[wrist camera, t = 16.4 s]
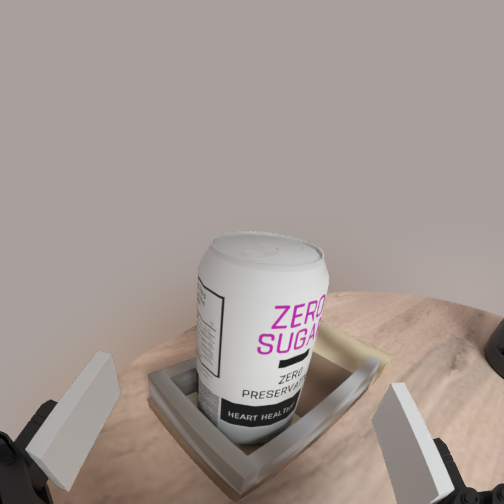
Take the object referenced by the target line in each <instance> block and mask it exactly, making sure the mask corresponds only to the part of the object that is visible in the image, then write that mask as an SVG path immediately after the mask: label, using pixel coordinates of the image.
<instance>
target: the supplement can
mask: <svg viewBox="0 0 504 504" xmlns="http://www.w3.org/2000/svg"><path fill="white" fill-rule="evenodd" d="M328 285H329V274H328V271H327V268H326V265H325V262H324V252H323V251H322V250H321V249H320V248H319V247H317V246H315V245H313V244H311V243H310V242H307V241H304V240H301V239H298V238H294V237H290V236H286V235H281V234H275V233H267V232H254V231H239V232H229V233H223V234H219V235H217V236H215V237H213V238H212V240H211V243H210V246H209V248H208V250H207V251H206V253H205V254H204V256H203V258H202V260H201V262H200V265H199V268H198V295H197V296H198V297H197V409H198V410H199V411H200V412H201V413H202V414H203V415H204V416H205V417H206V418H207V419H208V420H209V421H210V422H211V423H212V424H213V425H214V426H215V427H216V428H217V429H218V430H219V431H220V432H221V433H222V434H224V435H225V436H226V437H227V438H228V439H229V440H230V441H231V442H235V443H241V444H247V445H249V444H257V443H265V442H268V441H270V440H272V439H274V438H275V437H277V436H278V435H279V434H281V433H282V432H284V431H285V430H286V429H287V428H288V427H289V426H290V425H291V422H292V419H293V416H294V413H295V410H296V407H297V404H298V401H299V397H300V394H301V391H302V387H303V384H304V381H305V377H306V374H307V370H308V367H309V363H310V359H311V356H312V352H313V348H314V344H315V341H316V337H317V333H318V329H319V325H320V321H321V316H322V312H323V308H324V304H325V299H326V295H327V290H328Z"/></svg>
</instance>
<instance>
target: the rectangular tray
mask: <svg viewBox="0 0 504 504" xmlns="http://www.w3.org/2000/svg"><path fill="white" fill-rule="evenodd" d="M392 358H393V356H392V355H390V354H388V353H386V352H384V351H382V350H380V349H378V348H376V347H374V346H371V345H369V344H367V343H365V342H363V341H361V340H359V339H357V338H355V337H353V336H351V335H349V334H347V333H345V332H343V331H341V330H339V329H337V328H335V327H333V326H331V325H329V324H327V323H325V322H323V321H320V325H319V329H318V333H317V337H316V341H315V344H314V348H313V352H312V356H311V359H310V363H309V367H308V370H307V374H306V377H305V381H304V384H303V387H302V391H301V394H300V397H299V401H298V404H297V407H296V410H295V413H294V416H293V419H292V422H291V425H290V426H289V427H288V428H287V429H286V430H285V431H284V432H282V433H281V434H279V435H278V436H277V437H275V438H274V439H272V440H270V441H268V442H265V443H257V444H249V445H247V444H241V443H235V442H231V441H230V440H229V439H228V438H227V437H226V436H225V435H224V434H222V433H221V432H220V431H219V430H218V429H217V428H216V427H215V426H214V425H213V424H212V423H211V422H210V421H209V420H208V419H207V418H206V417H205V416H204V415H203V414H202V413H201V412H200V411H199V410H198V409H197V357H195V358H192V359H190V360H187V361H184V362H182V363H179V364H176V365H173V366H171V367H168V368H165V369H162V370H159V371H156V372H153V373H150V374H148V377H149V384H150V390H151V396H152V398H150V399H148V402H149V407H150V408H151V409H152V411H153V412H154V413H155V415H156V416H157V417H158V419H159V420H160V421H161V422H162V424H163V425H164V426H165V428H166V429H167V430H168V431H169V433H170V434H171V435H172V436H173V438H174V439H175V440H176V441H177V442H178V444H179V445H180V446H181V447H182V448H183V449H184V451H185V452H186V453H187V454H188V455H189V456H190V457H191V458H192V460H193V461H194V462H195V463H196V464H197V465H198V466H199V467H200V468H201V469H202V470H203V471H204V472H205V474H206V475H207V476H208V477H209V478H210V479H211V480H212V481H213V482H214V483H215V484H216V485H217V486H218V487H219V488H220V489H221V490H222V491H223V492H225V493H226V494H227V495H228V496H229V497H230V498H231V499H232V500H233V501H234V502H236V501H237V500H239V499H241V498H242V497H244V496H245V495H247V494H248V493H250V492H251V491H253V490H254V489H256V488H257V487H258V486H260V485H261V484H263V483H264V482H265V481H267V480H268V479H270V478H271V477H272V476H274V475H275V474H276V473H278V472H279V471H280V470H282V469H283V468H284V467H285V466H287V465H288V464H289V463H291V462H292V461H293V460H294V459H295V458H297V457H298V456H299V455H300V454H301V453H303V452H304V451H305V450H306V449H307V448H309V447H310V446H311V445H312V444H313V443H314V442H315V441H317V440H318V439H319V438H320V437H321V436H322V435H323V434H324V433H325V432H326V431H327V430H329V429H330V428H331V427H332V426H333V425H334V424H335V423H336V422H337V421H338V420H339V419H340V418H341V417H342V416H343V415H344V414H345V413H346V412H347V411H348V410H349V409H350V408H351V407H352V406H353V405H354V404H355V403H356V402H357V401H358V399H359V398H360V397H361V396H362V395H363V394H364V393H365V392H366V391H367V390H368V389H369V387H370V386H371V385H372V384H373V383H374V382H375V381H376V379H377V378H378V377H379V376H380V375H381V374H382V372H383V371H384V370H385V369H386V368H387V366H388V365H389V364H390V363H391V361H392Z"/></svg>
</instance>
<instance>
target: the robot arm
mask: <svg viewBox="0 0 504 504" xmlns="http://www.w3.org/2000/svg"><path fill="white" fill-rule="evenodd" d="M485 355H486V357H487V360H488V361H489V363H490V364H491V366H492V367H493V368H494V369H495V370H496V371H497V372H498V373H499V374H500V375H501V376H502V377H503V378H504V319H503V320H502V322H501V323H500V324H499V326H498V327H497V328H496V329H495V331H494V332H493V333H492V334H491V336H490V338H489V340H488V342H487V344H486V347H485ZM120 395H121V392H120V388H119V384H118V380H117V375H116V371H115V366H114V361H113V356H112V354H111V353H107V352H103V351H100V350H98V351H97V353H96V354H95V355H94V356H93V358H92V359H91V360H90V362H89V363H88V364H87V365H86V366H85V368H84V369H83V370H82V372H81V373H80V374H79V376H78V377H77V378H76V379H75V381H74V382H73V383H72V385H71V386H70V387H69V389H68V390H67V391H66V393H65V394H64V395H63V397H62V398H61V399H60V401H59V402H55V401H53V400H49V401H47V402H45V403H44V404H42V405H41V406H40V408H39V409H38V410H37V412H36V414H34V416H33V417H32V418H31V421H29V422H28V424H27V425H26V426H25V428H24V429H23V430H22V432H21V433H20V435H19V436H18V437H17V439H16V441H14V442H13V441H12V440H11V439H10V437H9V436H8V435H7V434H6V433H4V432H1V431H0V504H54V503H53V500H52V497H51V494H50V491H49V488H48V485H47V483H46V482H47V480H48V478H49V479H50V480H51V482H52V483H53V484H54V485H56V486H58V487H60V488H62V489H64V490H66V491H68V492H69V491H70V489H71V487H72V485H73V483H74V481H75V479H76V477H77V475H78V473H79V471H80V469H81V467H82V465H83V463H84V461H85V459H86V457H87V455H88V454H89V452H90V450H91V448H92V446H93V444H94V442H95V440H96V438H97V437H98V435H99V433H100V431H101V429H102V427H103V425H104V424H105V422H106V420H107V418H108V416H109V414H110V413H111V411H112V409H113V407H114V405H115V404H116V402H117V400H118V398H119V397H120ZM372 423H373V426H374V429H375V432H376V435H377V438H378V441H379V444H380V447H381V450H382V453H383V457H384V460H385V463H386V466H387V469H388V473H389V476H390V479H391V483H392V486H393V490H394V493H395V497H396V500H397V504H504V484H503V483H502V484H499V485H497V486H496V487H495V488H494V489H493V490H491V491H483V492H477V491H476V490H475V489H473V488H470V487H466V486H465V484H464V482H463V480H462V477H461V475H460V473H459V471H458V468H457V466H456V464H455V462H453V458H452V456H451V455H450V451H449V449H448V447H447V445H446V444H445V443H444V442H443V441H442V440H441V439H440V438H436V439H432V437H431V435H430V433H429V431H428V429H427V427H426V425H425V422H424V420H423V418H422V416H421V414H420V412H419V410H418V409H417V407H416V405H415V403H414V401H413V399H412V397H411V395H410V393H409V391H408V389H407V387H406V386H405V384H404V382H402V383H391V384H390V386H389V388H388V390H387V392H386V394H385V396H384V398H383V400H382V402H381V404H380V405H379V407H378V409H377V411H376V413H375V415H374V416H373V418H372Z"/></svg>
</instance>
